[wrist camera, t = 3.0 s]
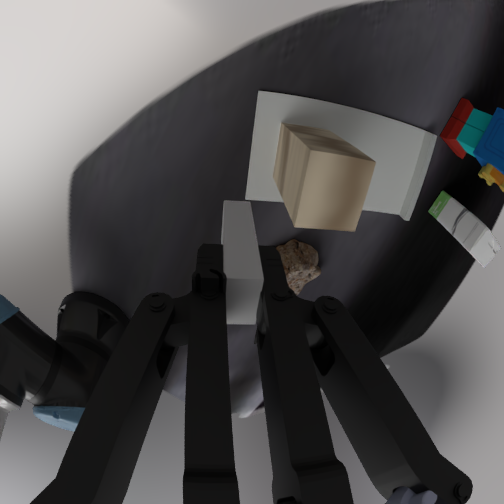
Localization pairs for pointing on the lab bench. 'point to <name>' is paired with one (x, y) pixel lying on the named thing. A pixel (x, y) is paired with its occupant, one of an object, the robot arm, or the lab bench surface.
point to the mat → (354, 132)
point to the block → (321, 177)
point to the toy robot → (478, 139)
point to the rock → (299, 263)
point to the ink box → (465, 228)
